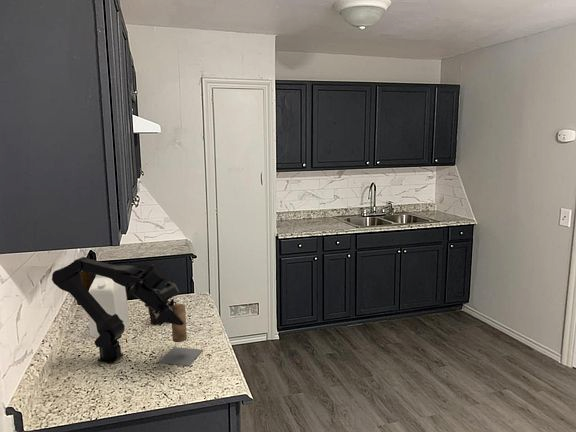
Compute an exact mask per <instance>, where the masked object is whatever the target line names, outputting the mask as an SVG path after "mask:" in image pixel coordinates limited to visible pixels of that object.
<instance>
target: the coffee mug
mask: <svg viewBox="0 0 576 432" xmlns="http://www.w3.org/2000/svg"><path fill="white" fill-rule="evenodd" d="M175 304H177V302H176V301H175V300H174V305H175ZM147 308H148V309H147V310H148V314H149V319H150V323H151V324H152V325H156V326H157V325H159V324H158V323H156V315H157V314H158V313H159V312H158V313H157V314H155V313H154V310H153V309H152V308H150V307H149V306H148V307H147ZM159 326H160V325H159Z"/></svg>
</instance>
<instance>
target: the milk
mask: <svg viewBox="0 0 576 432" xmlns="http://www.w3.org/2000/svg"><path fill="white" fill-rule="evenodd" d="M126 290H127V289H126V286H122V285H119V284H117V283H115V282H114V281H113V280H112V279H110V278H108V277H104V276H100V275H96V274H95V278H94V279H93V281H92V283H91V285H90V287H89V290H88V292H89V293H90V294H91V295H92V296H93V297H94V298H95V300H96V301H97V302H98V303H99V304H100V305H101V307H102V308H103V309H104V310H105V311H106V312H107V313H108V314H109V315H112V316H113V315H114V314H117V315H118V317H119V318H120V319H121V320H122V321H123V322H122V323H123V324H124V326H125V330H124V332H125V331H126V330H127V329H128V328H130V326H132V325H131V319H130V317H131V316H130V312H129V305H128V298H127V292H126ZM88 322H89V337H99V336H100V335H99V333H98V332H97V326H96V323H95V322H94V320H93V319H92V318H91V317H90V316H89V315H88Z"/></svg>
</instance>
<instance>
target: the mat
mask: <svg viewBox="0 0 576 432" xmlns="http://www.w3.org/2000/svg"><path fill="white" fill-rule="evenodd" d="M202 352H204V349H199V348H191V347H190V348H188V347H178V346H177V347H176V346H173V347H172V348H171V349H170V350H169V351H168V352H167V353H166V354H165V355H164V356H163V357H162V358H161V359H159V360H158V361H157V364H165V365H174V366H175V365H176V366H184V367H189V366H191V365H192V364H193V362H194V361H196V359H197V358H198V357H199V356H200V355H201V354H202Z"/></svg>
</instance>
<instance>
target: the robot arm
mask: <svg viewBox="0 0 576 432" xmlns="http://www.w3.org/2000/svg"><path fill="white" fill-rule="evenodd" d="M82 272H84V273H85V272H86V273H89V274H93V275H95V276H96V275H100V276H104V277H108V278H110V279H112V280H113V281H114V282H115V283H117V284H119V285H122V286H125V287H127V288H126V289H125V290H126V297H127V299H129V298H130V297H131V296H132V295H133V296H134V297H136V298H137V299H138V300H139V301H140V302H142V303H144V306H145V308H148V306H149V307H150V308H152V309H153V310H154V313H155V314H157V313H158V312H159V313H158V314H157V315H156V323H158V324H159V326H162V325H163V324H171V325H172V324H176V325H183V324H184V323H183V321H182V320H181V319H180V318H179V317H178V316H177V315H176V314H175V313H174V307H173V308H172V307H171V306H172V305H175V303H174V301H175V300H174V299H175V298H174V297H177V296H178V295H180V290H179V288H178V286H177V284H176V283H174V282H171V281H168V282H165V287H163V289H162V290H160V289H158V287H159V286H160V285H161V284H162V283H163V282H164V281H165V280H166V279H168V273H167V271H166V270H165V269H164V268H163V267H160V266H159V265H156V264H155V263H153V264H151V265H150V266H148V268H147V269H146V270H144V269H140V268H138V267H137V266H135V265H127V264H124V265H123V264H122V265H115V264H111V263H107V262H102V261H99V260H95V259H92V258H89V257H86V256H82V257H79V258H77V259H75V260H73V261H72V262H71V263H70V264H68V265H66V266H63V267H61V268H59V269H57V270H55V271H53V272H52V275H51V276H52V277H51V281H52V283H53V284H54V285H55V286H56V287H57V288H59V289H60V290H62V291H64V292H67V293H69V294H70V295H71V296H72V298H74V299H75V301H76V302H77V303H78V304H79V305H80V307H81V308H82V309H83V310H84V312H85V313H87V315H88V317H89V316H90V317H91V318H92V319H93V320H94V322H95V323H96V326H97V332H98V333H99V335H100V336H97V338H96V339H95V340H94V345H95V346H96V348H98V349H99V351H98V352H99V358H98V359H97V362H102V363H108V364H109V363H110V364H113V363H115V362H116V361H117V360H119V359H120V358H122V356H123V355H124V353H123V352H122V348H121V345H120V341H119V339H121V338H122V335H123V334H124V332H125V331H126V330H125V326H124V324H123V323H122V322H123V321H122V320H121V319H120V318H119V317H118V315H117V314H114V315H113V316H112V315H109V314H108V313H107V312H106V311H105V310H104V309H103V308H102V307H101V305H100V304H99V303H98V302H97V301H96V300H95V298H94V297H93V296H92V295H91V294H90V293H89V290H88V288H86V287H85V286H84V285H83V282H82V276H81V275H80V274H81V273H82ZM132 284H133V285H132ZM130 285H131V286H130ZM124 330H125V331H124Z"/></svg>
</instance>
